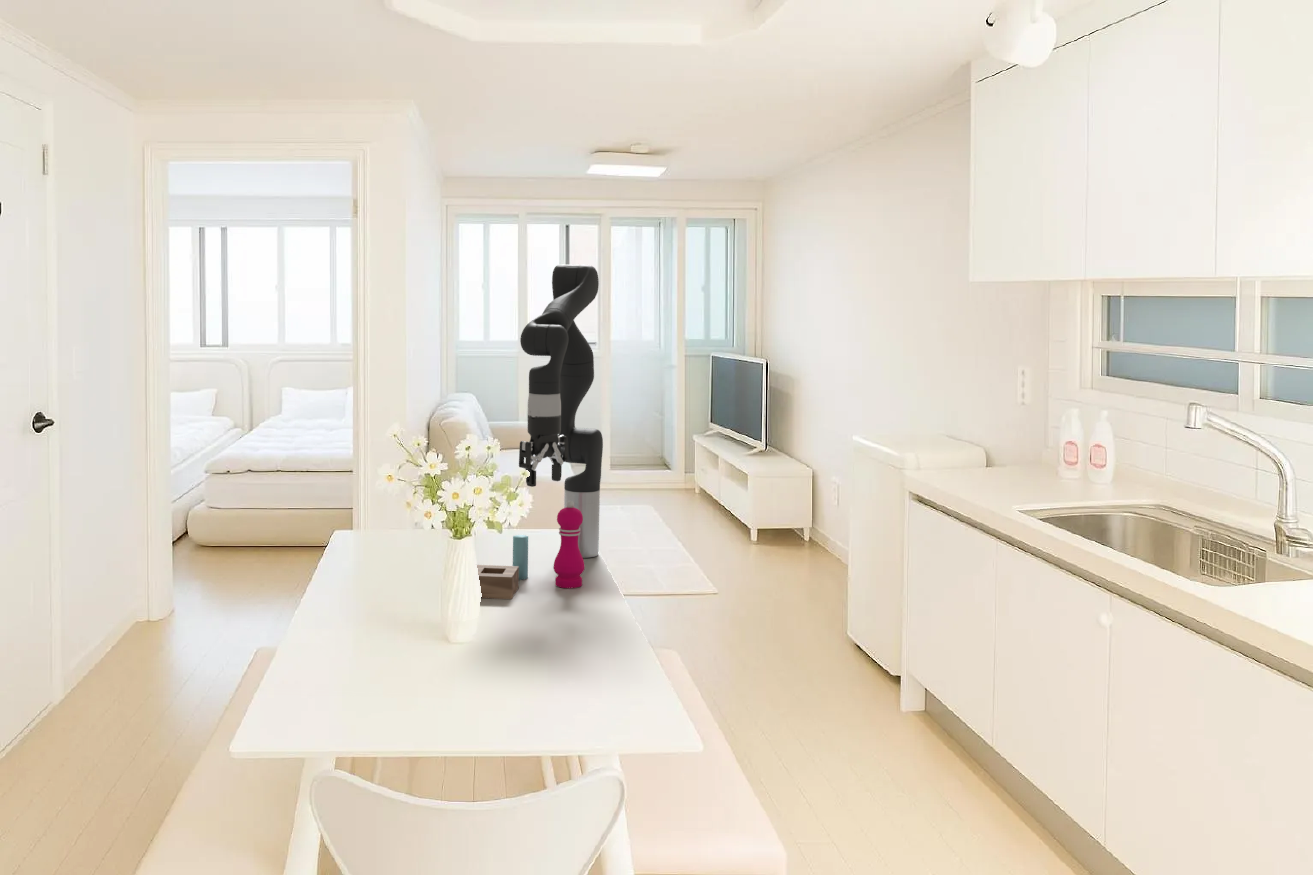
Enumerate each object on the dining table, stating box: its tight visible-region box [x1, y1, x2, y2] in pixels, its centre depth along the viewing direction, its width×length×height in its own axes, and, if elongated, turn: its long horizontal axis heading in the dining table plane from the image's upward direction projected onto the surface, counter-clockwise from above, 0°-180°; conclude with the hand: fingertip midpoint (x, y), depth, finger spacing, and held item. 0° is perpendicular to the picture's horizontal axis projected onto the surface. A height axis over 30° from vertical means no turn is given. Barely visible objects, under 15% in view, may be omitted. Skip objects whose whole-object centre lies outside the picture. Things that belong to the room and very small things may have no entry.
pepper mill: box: [553, 501, 586, 589], centre depth 255 cm, size 7×7×20 cm
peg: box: [512, 534, 529, 581], centre depth 261 cm, size 4×4×10 cm
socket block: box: [476, 564, 520, 600], centre depth 247 cm, size 10×10×5 cm
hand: (543, 483), depth 250 cm, fingers open, 8 cm apart
